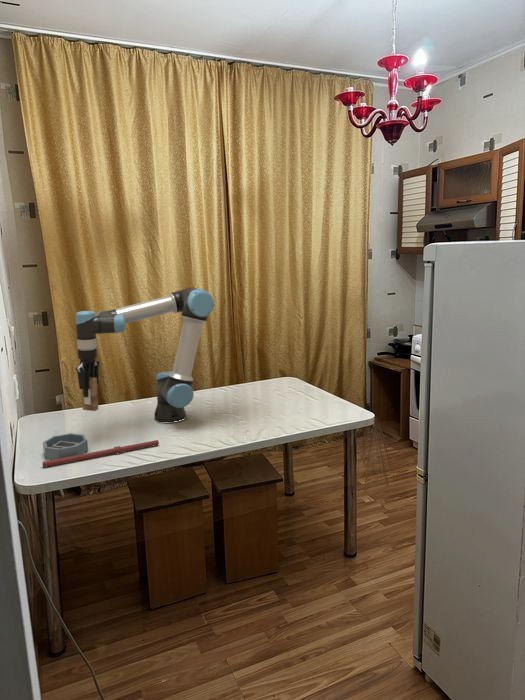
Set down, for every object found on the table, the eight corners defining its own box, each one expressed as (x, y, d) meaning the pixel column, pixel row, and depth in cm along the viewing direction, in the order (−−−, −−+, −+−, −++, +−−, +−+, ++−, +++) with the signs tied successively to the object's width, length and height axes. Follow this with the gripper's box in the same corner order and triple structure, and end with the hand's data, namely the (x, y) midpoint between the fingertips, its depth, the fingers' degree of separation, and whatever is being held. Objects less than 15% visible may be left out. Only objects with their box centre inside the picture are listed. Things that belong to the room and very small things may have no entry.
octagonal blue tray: (94, 447, 213) (94, 435, 212) (71, 462, 198) (70, 450, 197) (61, 443, 217) (60, 432, 216) (35, 458, 202) (34, 446, 201)
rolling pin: (157, 444, 216) (156, 437, 215) (159, 447, 213) (159, 440, 213) (42, 466, 195) (41, 459, 195) (43, 470, 193) (42, 462, 192)
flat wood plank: (98, 409, 217) (96, 377, 214) (94, 411, 215) (93, 378, 212) (86, 407, 219) (84, 376, 216) (82, 409, 216) (80, 377, 214)
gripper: (90, 344, 220) (93, 397, 224) (67, 351, 205) (70, 407, 210) (105, 345, 218) (108, 398, 222) (83, 352, 203) (86, 409, 208)
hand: (90, 402), depth 216 cm, fingers closed on flat wood plank, 2 cm apart
